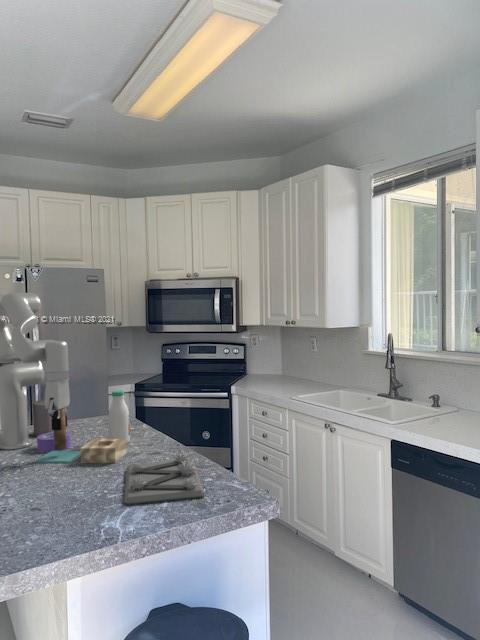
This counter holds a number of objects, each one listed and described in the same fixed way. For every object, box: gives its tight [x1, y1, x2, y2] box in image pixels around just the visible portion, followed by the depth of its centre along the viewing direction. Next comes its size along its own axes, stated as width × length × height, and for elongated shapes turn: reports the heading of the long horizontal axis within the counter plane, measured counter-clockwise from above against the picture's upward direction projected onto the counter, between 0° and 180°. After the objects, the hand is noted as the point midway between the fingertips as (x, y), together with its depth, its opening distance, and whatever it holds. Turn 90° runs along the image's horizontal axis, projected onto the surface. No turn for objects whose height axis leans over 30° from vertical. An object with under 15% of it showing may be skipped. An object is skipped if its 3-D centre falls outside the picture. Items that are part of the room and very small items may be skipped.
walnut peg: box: [54, 408, 67, 451], centre depth 175 cm, size 4×4×14 cm
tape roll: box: [36, 431, 72, 453], centre depth 188 cm, size 12×12×5 cm
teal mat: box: [35, 450, 81, 464], centre depth 175 cm, size 12×12×1 cm
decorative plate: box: [123, 451, 206, 506], centre depth 148 cm, size 30×22×7 cm
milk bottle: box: [108, 390, 131, 444], centre depth 193 cm, size 8×8×20 cm
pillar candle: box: [32, 399, 54, 438], centre depth 209 cm, size 10×10×15 cm
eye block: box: [80, 438, 128, 464], centre depth 174 cm, size 12×12×5 cm
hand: (59, 427), depth 175 cm, fingers closed on walnut peg, 4 cm apart
